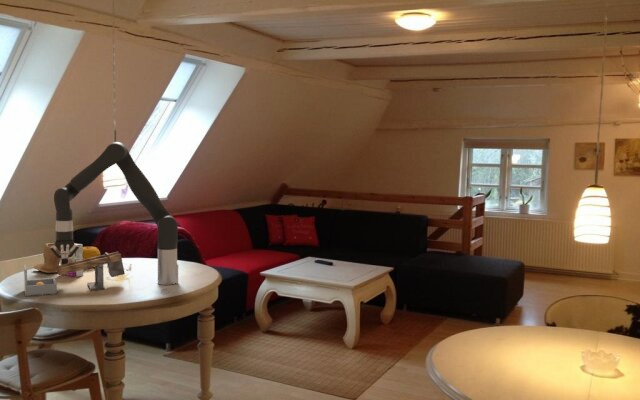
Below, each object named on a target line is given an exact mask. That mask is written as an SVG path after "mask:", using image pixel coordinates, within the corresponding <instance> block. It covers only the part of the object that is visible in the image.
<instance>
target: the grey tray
mask: <svg viewBox="0 0 640 400" xmlns="http://www.w3.org/2000/svg"><path fill="white" fill-rule="evenodd" d="M23 279H24V280H23V283H24V285H23V287H24V288H23V290H25V291H24V295H25V296H28V297H32V296H31V295H39V296H43V295H42V294H50V295H58V294H57V293H58V286H57V285H58V283H57V282H56V279H55V277H51V278H39V279H28V269H27V264H23ZM38 282H42V283H44V285H36V283H38Z"/></svg>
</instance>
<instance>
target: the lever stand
mask: <svg viewBox="0 0 640 400" xmlns="http://www.w3.org/2000/svg"><path fill="white" fill-rule="evenodd" d="M87 287H88V288H89V290H90V291H91V292H93V291H103V290H106V288H105V283H104V265H103V263H99V264H98V266H95V267H94V281H93V282H92V281H90V282H87Z"/></svg>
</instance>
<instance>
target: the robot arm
mask: <svg viewBox="0 0 640 400" xmlns="http://www.w3.org/2000/svg"><path fill="white" fill-rule="evenodd" d="M114 165H116V166H117V167H118V168H119V169H120V171H121V172H122V175H123V176H124V178H125V181H126V183H127V185H128V187H129V189H130V191H131V192H132V194H133V195H134V197H135V198H136V199H137V200H138V202H139V203H140V204H141V205H142V206H143V207H144V208H145V209H146V210H147V211H148V213H149V214H150V215H151V217H152V219H153V221H154V222H155V225H156V226H157V284H158V285H161V286H163V285H164V286H168V285H169V286H170V285H175V283H176V284H179V263H178V241H179V240H178V237H179V235H178V234H179V233H178V230H179V228H178V227H179V226H178V222H177V220H176V219H175V217H174V216H173V215H172V214H171V213H170V212H169V211H168V210H167V209H166V207H165V206H164V205H163V204H162V201H161V199H160V197H159V195H158V193H157V191H156V190H155V188H154V187H153V185H152V184H151V182H150V181H149V179H148V178H147V177H146V176H145V174H144V172H142V170H141V169H140V168H139V167H138V165H137V164H136V162H135V160H134V159H133V158H132V155H131V154H130V151H129V150H128V147H126V145H125V144H124V143H122V142H120V141H114V142H111V143H110V144H108V145H107V146H106V148H105V149H104V150H103V151H102V153H101V154H100V155H99V156H98V157H97V158H96V159H95V160H94V161H92V162H91V163H90V164H89V165H87V166H86V167H84V168H83V169H82V170H80V171H79V172H78V173H77V174H76V175H74V176H73V177H72V178H71V179H70V181H69V182H68V183H67V184H66V185H65V186H63V187H59V188H57V189H56V190H55V192H54V194H53V201H54V207H55V242H54V244H55V245H54V246H52V247H50V249H51V251H52V252H53V253H54V254H55V255H56V256H57V257H58V258H61V262H60V265H61V264H62V265H63V264H67V263H68V258H69V257H72V256H73V255H74V253H75V252H76V251H77V250H78V248H79V247H78V246H76V245H75V244H76V243H75V241H74V223H73V210H72V208H71V203H70V202H71V201H72V200H73V199H75V198H76V197H77V196H78V195H79V194H80V193H81V192H82V190H84V189H86V188H87V187H88V186H89V185H90V184H92V183H93V182H94V181H95V180H96V179H97V178H98V177H99V176H100V175H101V174H102V173H104V172H105V171H106V170H108V169H109V168H110V167H112V166H114ZM74 243H75V244H74ZM55 247H57V249H58V250H59V251H60V252H61V255H59V254H58V253H57V252H56V251H55V250H56V248H55ZM72 247H73V250H72V251H71V253H70V254H69V250H70V249H71V248H72ZM64 251H65V258H64ZM68 254H69V255H68Z"/></svg>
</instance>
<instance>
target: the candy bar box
mask: <svg viewBox="0 0 640 400" xmlns="http://www.w3.org/2000/svg"><path fill="white" fill-rule="evenodd" d="M74 244H75V245H76V246H78V247H79V248H78V250H77V251H76V252H75V253H74V255H73V256H72V257H69V258H68V263H72V262H76V261H80V260H83V247H84V246H83V244H82V243H75V242H74ZM72 250H73V247H72V248H71V249H70V250H69V254H70V253H71V251H72ZM69 254H68V255H69ZM60 255H61V252H60ZM64 258H65V251H64ZM60 265H62V264H61V258H60ZM62 276H67V277H71V278H73V277H74V278H79V277H82V276H84V269H83V270H79V271H75V272H71V273H67V274H62Z"/></svg>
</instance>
